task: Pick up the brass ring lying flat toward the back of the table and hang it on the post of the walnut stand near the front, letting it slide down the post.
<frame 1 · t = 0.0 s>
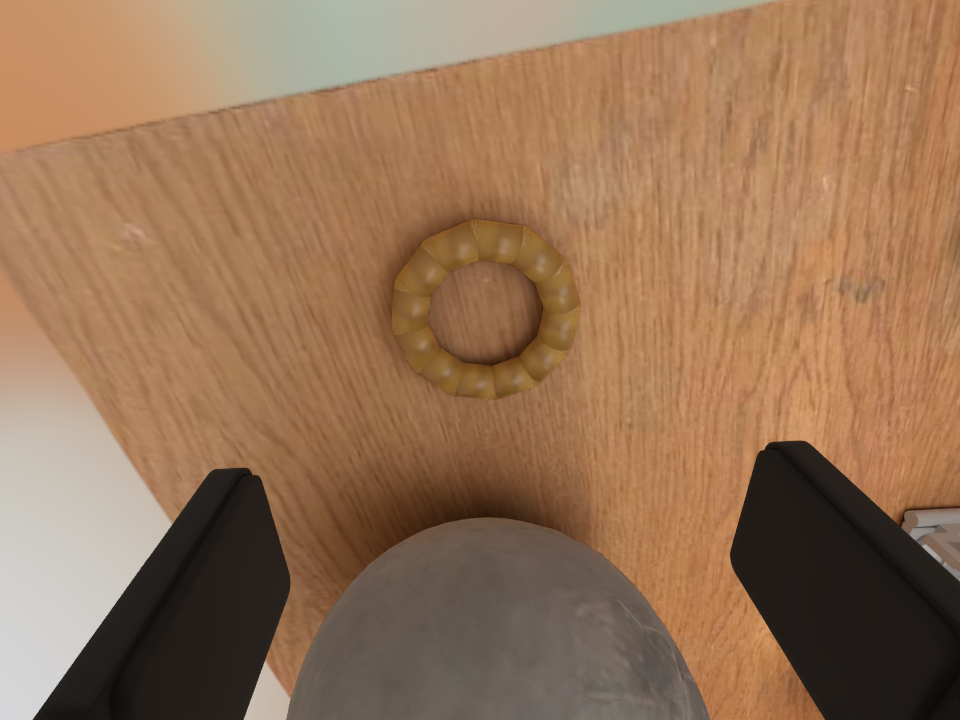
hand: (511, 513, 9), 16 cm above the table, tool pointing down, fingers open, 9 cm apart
bowl: (485, 569, 33), on the table
ring: (485, 316, 24), point 1 cm above the table
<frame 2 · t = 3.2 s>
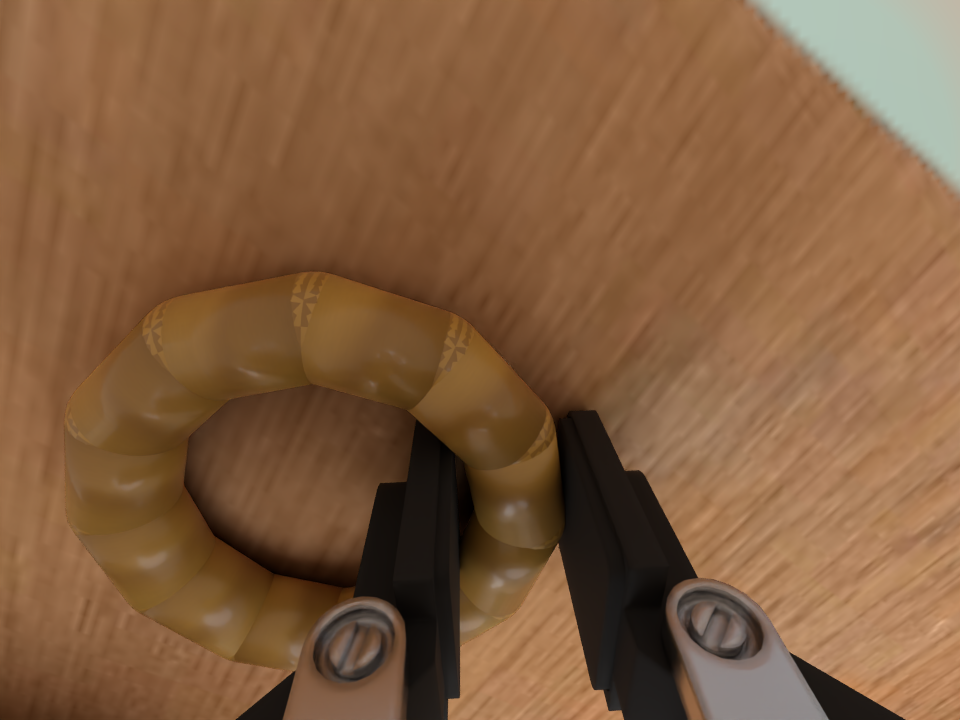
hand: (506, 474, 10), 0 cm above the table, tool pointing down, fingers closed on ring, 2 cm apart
ring: (330, 506, 10), point 1 cm above the table, touching gripper
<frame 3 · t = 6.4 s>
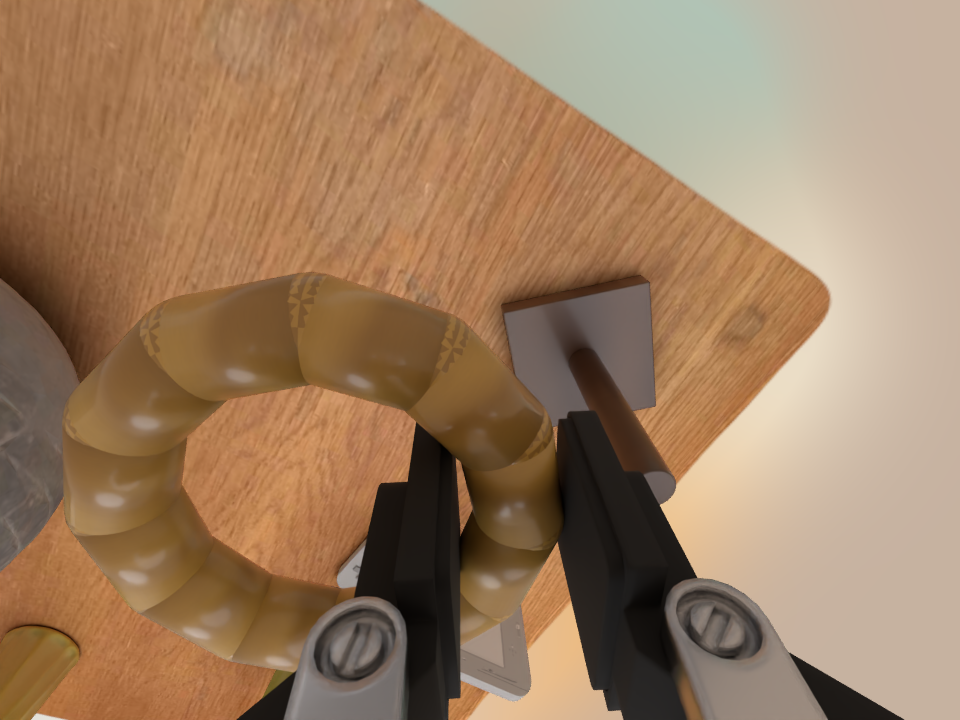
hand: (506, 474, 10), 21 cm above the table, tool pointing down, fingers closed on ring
handheld gaming console: (428, 572, 41), on the table
vase: (45, 644, 43), on the table
ring: (328, 506, 10), point 21 cm above the table, touching gripper
stand: (578, 352, 32), on the table
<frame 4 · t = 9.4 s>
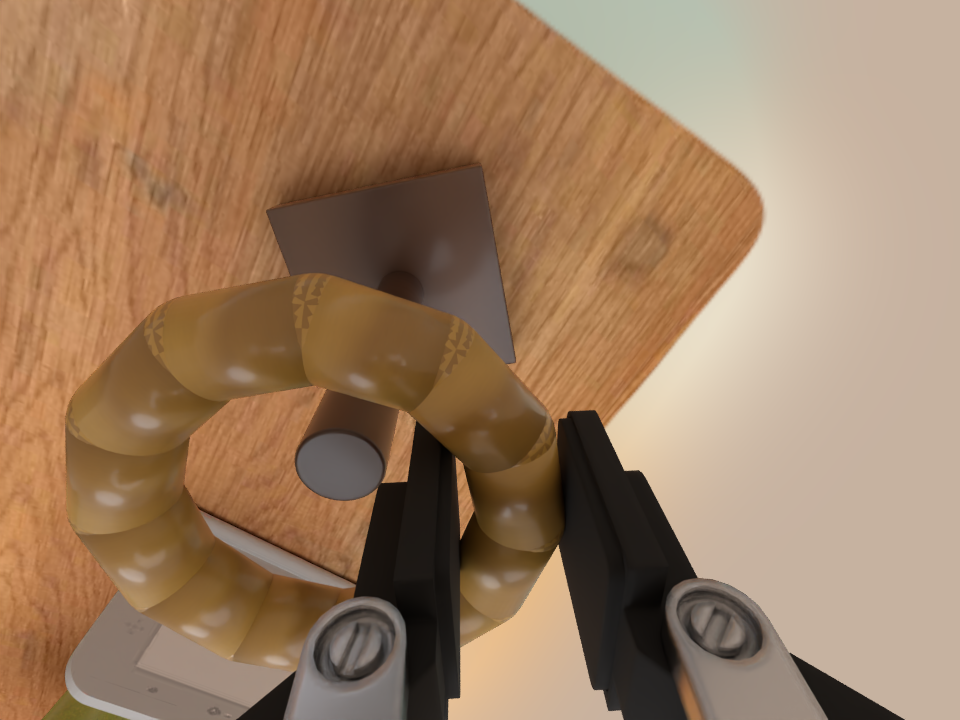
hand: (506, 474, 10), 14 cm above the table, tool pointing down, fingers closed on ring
handheld gaming console: (253, 585, 32), on the table
ring: (329, 507, 10), point 15 cm above the table, touching gripper
plant pot: (134, 674, 35), on the table
stand: (404, 282, 23), on the table
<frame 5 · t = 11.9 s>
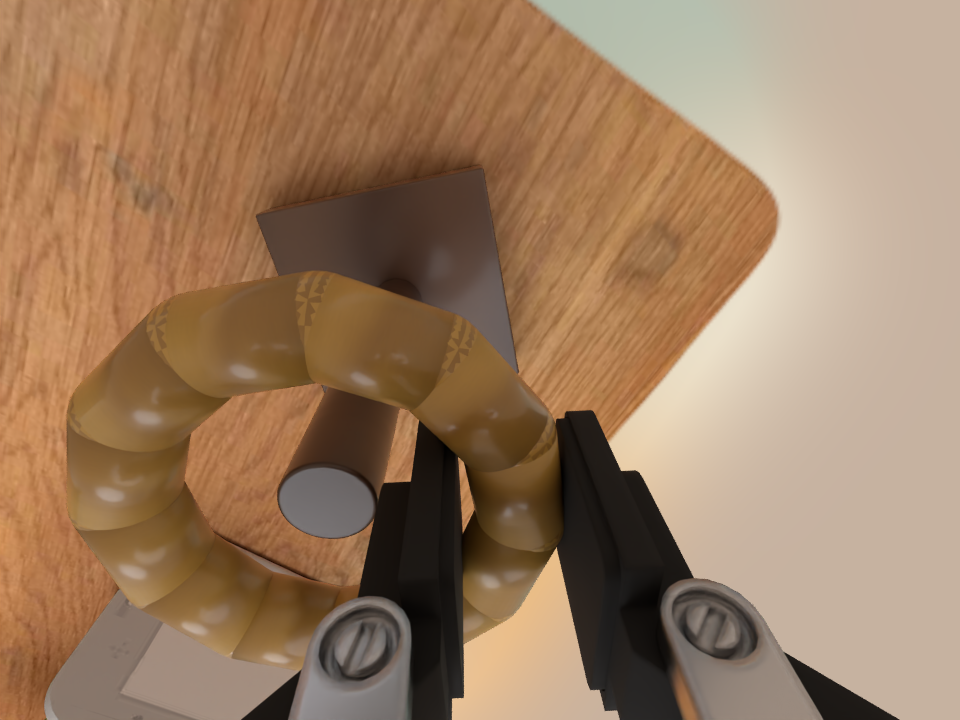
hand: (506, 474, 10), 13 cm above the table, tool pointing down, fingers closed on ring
handheld gaming console: (246, 600, 31), on the table
ring: (330, 505, 10), point 14 cm above the table, touching gripper
stand: (402, 290, 22), on the table
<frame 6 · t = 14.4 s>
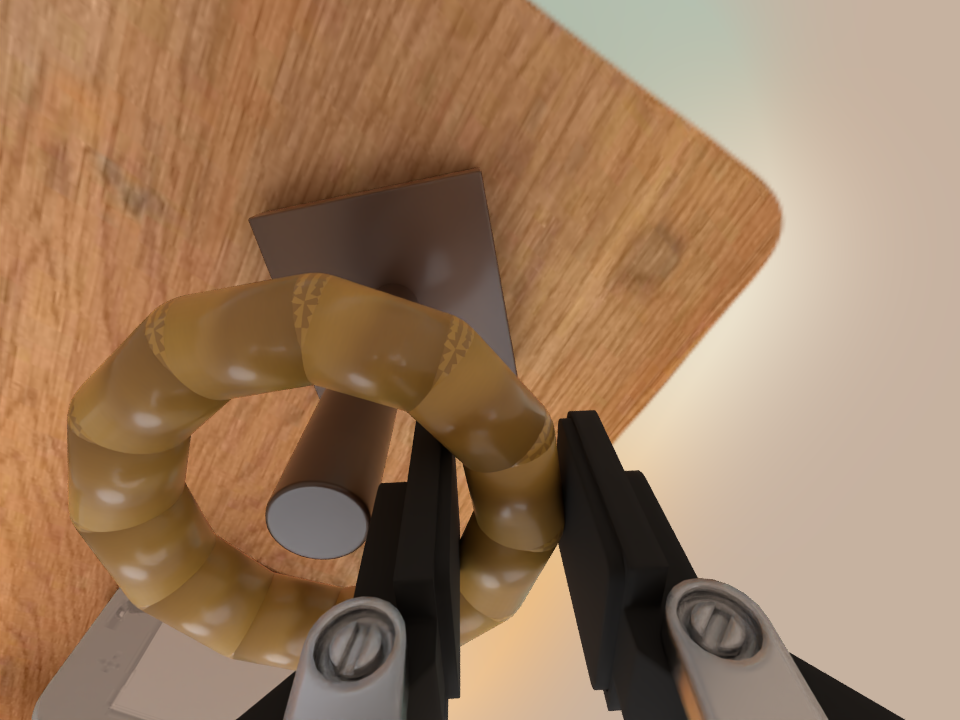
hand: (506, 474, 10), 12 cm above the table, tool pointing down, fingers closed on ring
handheld gaming console: (241, 608, 30), on the table
ring: (329, 506, 10), point 13 cm above the table, touching gripper
stand: (398, 295, 21), on the table
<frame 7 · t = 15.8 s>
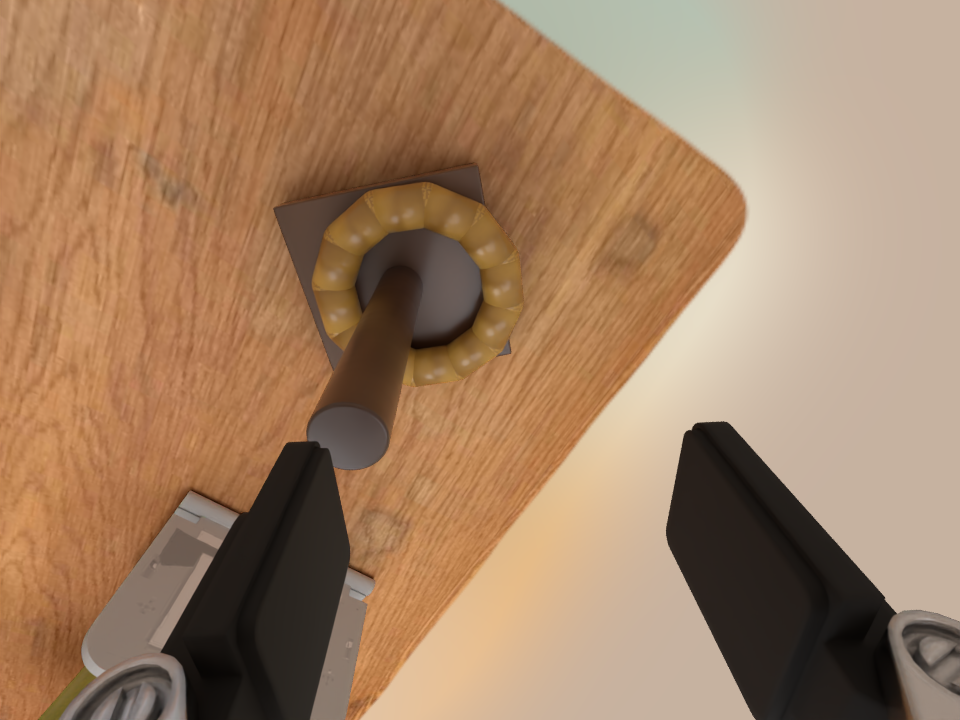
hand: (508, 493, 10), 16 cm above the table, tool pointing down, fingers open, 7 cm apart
handheld gaming console: (257, 572, 33), on the table
ring: (419, 292, 22), point 2 cm above the table, touching stand
plant pot: (141, 661, 36), on the table
stand: (404, 277, 24), on the table
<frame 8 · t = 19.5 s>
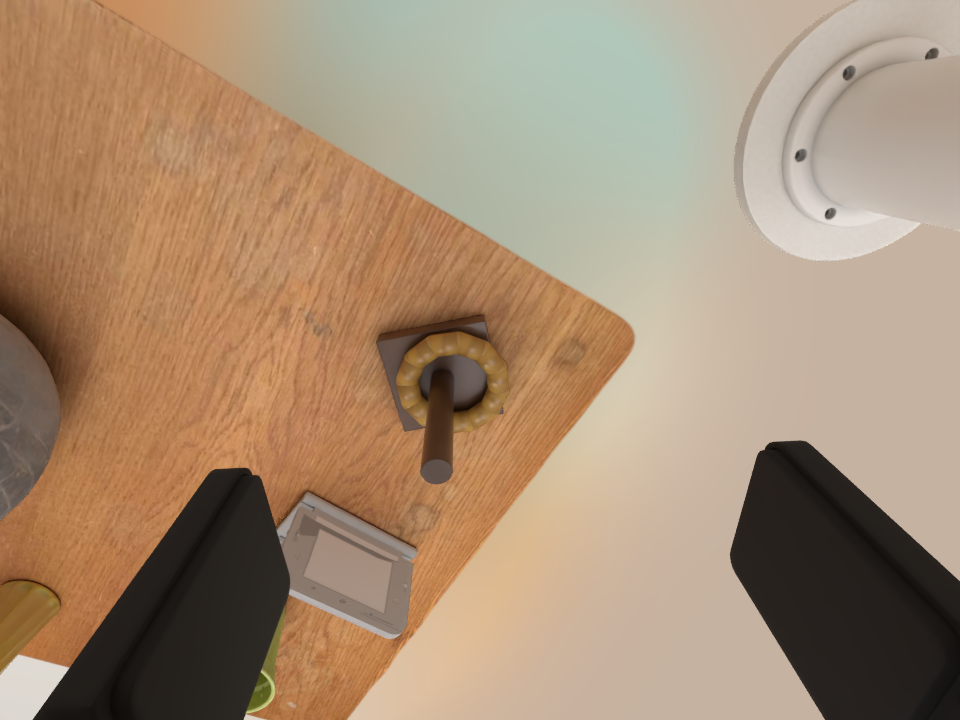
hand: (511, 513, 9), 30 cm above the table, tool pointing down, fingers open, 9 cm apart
handheld gaming console: (342, 544, 51), on the table
vase: (32, 597, 53), on the table
ring: (453, 384, 40), point 2 cm above the table, touching stand
plant pot: (259, 605, 54), on the table
stand: (443, 371, 42), on the table
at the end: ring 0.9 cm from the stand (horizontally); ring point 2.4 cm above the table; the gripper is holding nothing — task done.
